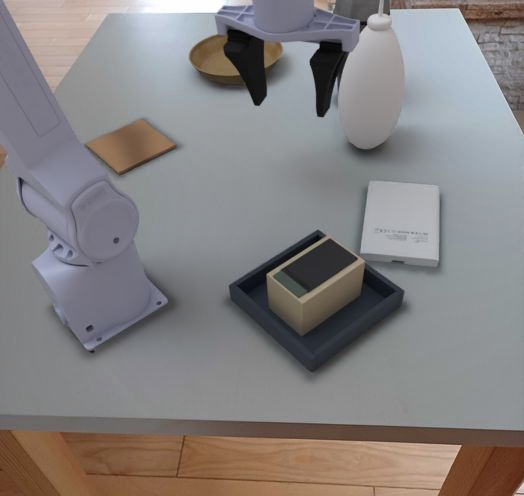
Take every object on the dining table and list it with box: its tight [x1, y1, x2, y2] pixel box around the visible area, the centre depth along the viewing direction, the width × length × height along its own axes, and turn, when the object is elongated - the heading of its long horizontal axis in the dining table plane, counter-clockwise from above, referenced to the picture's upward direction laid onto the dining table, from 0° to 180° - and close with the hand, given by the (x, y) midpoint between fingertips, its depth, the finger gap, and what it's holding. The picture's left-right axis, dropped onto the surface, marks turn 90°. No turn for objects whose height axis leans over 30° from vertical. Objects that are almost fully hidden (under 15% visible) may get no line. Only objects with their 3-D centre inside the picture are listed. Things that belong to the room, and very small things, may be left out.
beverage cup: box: [332, 0, 391, 94], centre depth 68 cm, size 7×7×20 cm
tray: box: [228, 229, 406, 373], centre depth 52 cm, size 12×12×2 cm
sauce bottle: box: [337, 0, 406, 150], centre depth 62 cm, size 8×8×18 cm
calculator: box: [267, 234, 366, 336], centre depth 51 cm, size 8×5×5 cm, turn 130°
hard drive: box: [358, 180, 440, 268], centre depth 58 cm, size 2×8×12 cm
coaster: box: [85, 118, 177, 175], centre depth 72 cm, size 9×9×1 cm
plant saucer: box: [188, 33, 284, 85], centre depth 82 cm, size 15×15×3 cm
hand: (291, 106), depth 58 cm, fingers open, 7 cm apart
